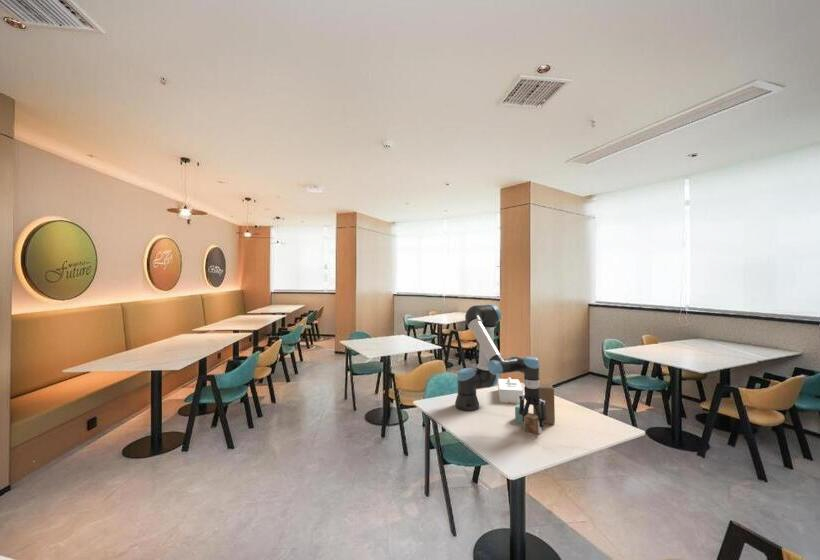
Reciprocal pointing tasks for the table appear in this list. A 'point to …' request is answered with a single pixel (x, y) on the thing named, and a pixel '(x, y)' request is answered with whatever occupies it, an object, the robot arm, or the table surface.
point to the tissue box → (509, 390)
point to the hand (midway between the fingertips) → (532, 430)
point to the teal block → (518, 416)
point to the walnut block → (531, 423)
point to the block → (547, 402)
